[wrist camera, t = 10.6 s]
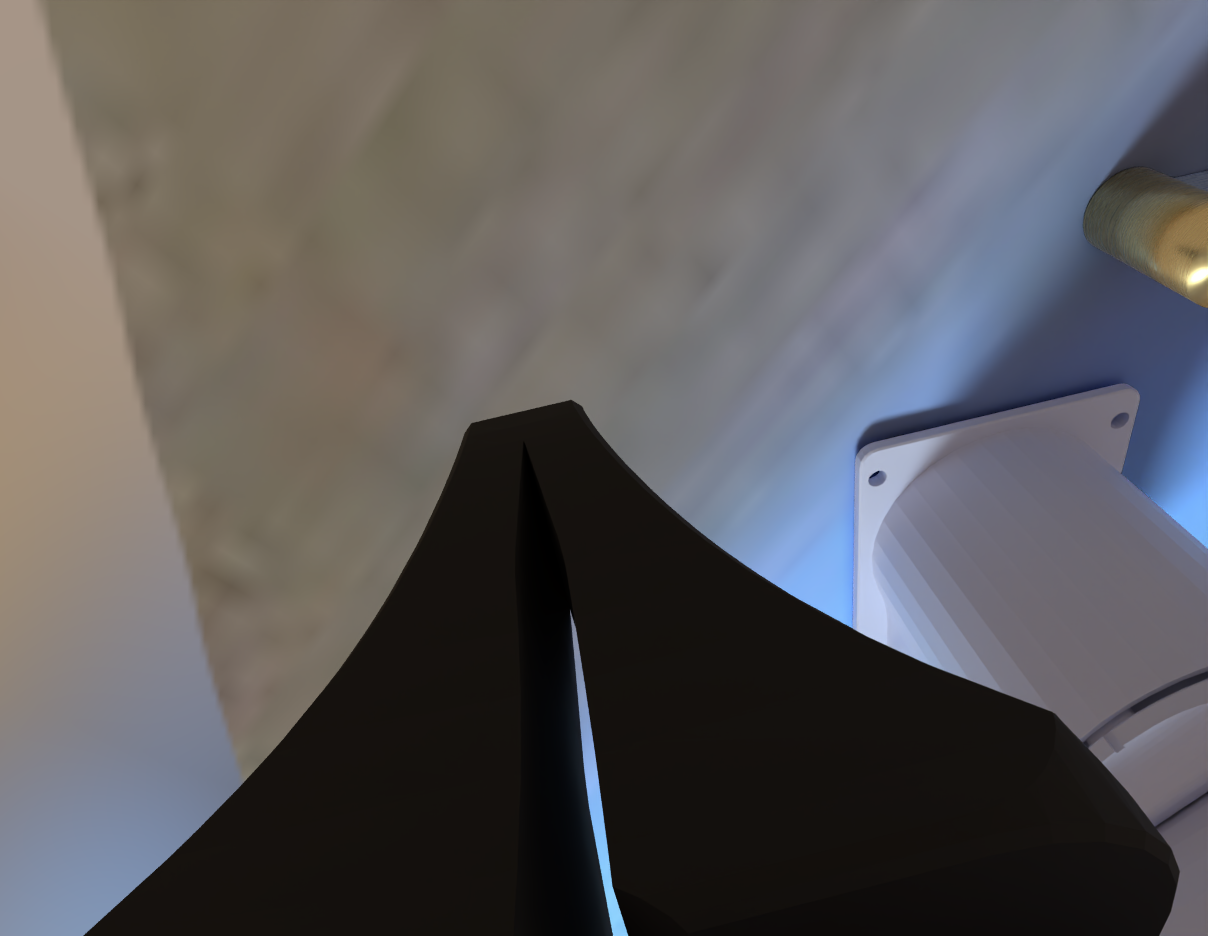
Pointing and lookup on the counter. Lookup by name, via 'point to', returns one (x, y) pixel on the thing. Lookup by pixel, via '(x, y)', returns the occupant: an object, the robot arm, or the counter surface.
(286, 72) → the counter surface
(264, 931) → the robot arm
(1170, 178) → the frame
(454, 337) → the counter surface
